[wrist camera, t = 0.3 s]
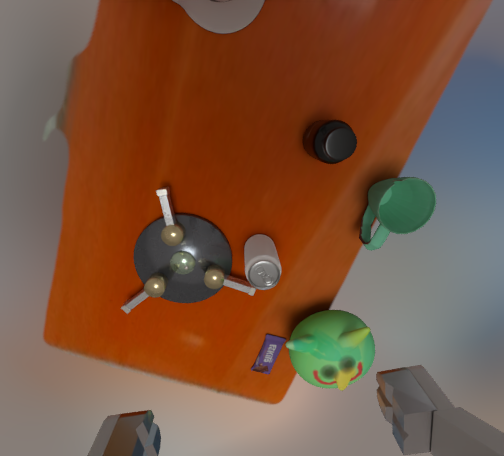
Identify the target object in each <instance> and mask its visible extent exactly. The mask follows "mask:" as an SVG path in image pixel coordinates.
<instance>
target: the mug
mask: <svg viewBox="0 0 504 456" xmlns="http://www.w3.org/2000/svg"><path fill="white" fill-rule="evenodd" d="M368 201H369V204H368V206H367V209H366V211H365V214H364V216H363V218H362V221H361V227H360V235H359V239H360V240H361V241H362V243H363V244H364V246H365V247H366V248H367V249H368V250H375V249H379V248H380V247H381V246H382V245H383V243H384V242H385V240H386V238H387V237H388V235H389V233H390V232H393V233H396V234H408V233H411V232H414V231H416V230H418V229H419V228H421V227H423V226H424V225H425V224H426V223H427V222H428V221H429V220H430V218H431V216H432V214H433V212H434V210H435V206H436V194H435V192H434V190H433V188H432V186H431V185H430V184H429V183H427V182H426V181H424V180H422V179H419V178H415V177H402V178H390V179H386V180H383V181H380V182H378V183H375V184H374V185H372V187H371V188H370V189H369V191H368ZM375 216H376V217H377V219H378V221H379V222H380V225H379V227H378V228H377V230H376V232H375V234H374V236H373V237H372V238H371V240H370V237H371V226H372V223H373V221H374V218H375Z"/></svg>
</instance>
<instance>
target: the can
mask: <svg viewBox="0 0 504 456" xmlns="http://www.w3.org/2000/svg"><path fill="white" fill-rule="evenodd" d="M244 256H245V274H246V277H247V279H248V281H249V282H250V284H251V285H252V286H253V287H255V288H257V289H260V290H267V289H270V288H272V287H274V286H275V285H276V284H277V283H278V282H279V279H280V275H281V265H280V261H279V258H278V255H277V251H276V248H275V245H274V242H273V241H272V239H271V238H270V237H268V236H266V235H263V234H257V235H254V236H252V237H250V238H249V239H248V240H247V242H246V243H245V247H244Z"/></svg>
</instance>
